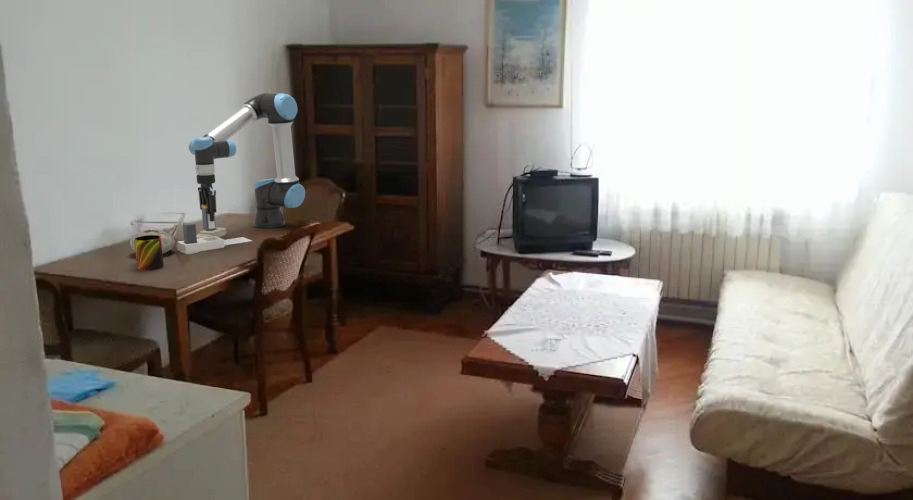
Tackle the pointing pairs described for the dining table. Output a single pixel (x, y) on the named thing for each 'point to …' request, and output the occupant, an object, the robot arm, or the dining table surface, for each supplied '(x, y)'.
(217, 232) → the electrical outlet
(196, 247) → the socket strip
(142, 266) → the mug
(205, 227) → the plug
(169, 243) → the grey stone
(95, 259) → the dining table surface
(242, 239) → the tray
